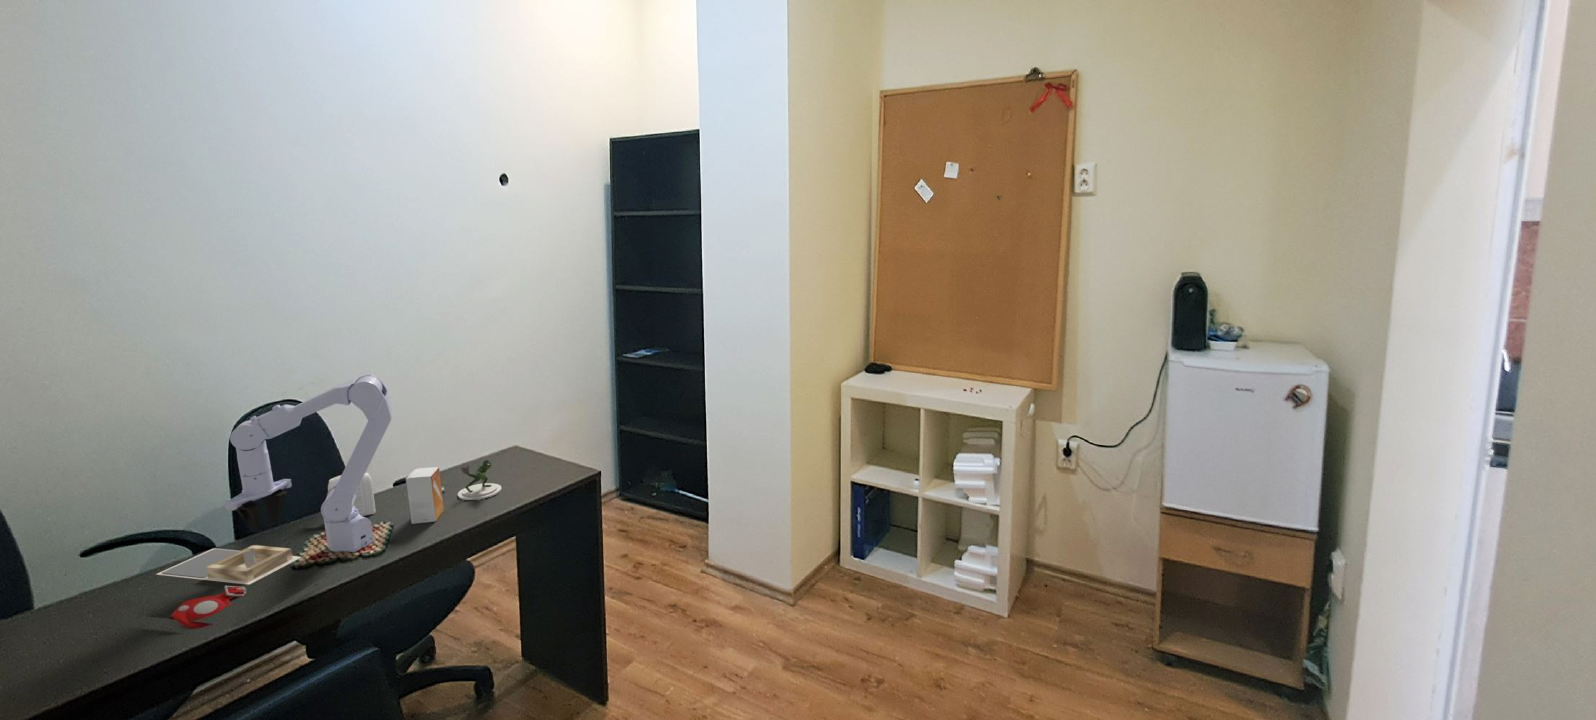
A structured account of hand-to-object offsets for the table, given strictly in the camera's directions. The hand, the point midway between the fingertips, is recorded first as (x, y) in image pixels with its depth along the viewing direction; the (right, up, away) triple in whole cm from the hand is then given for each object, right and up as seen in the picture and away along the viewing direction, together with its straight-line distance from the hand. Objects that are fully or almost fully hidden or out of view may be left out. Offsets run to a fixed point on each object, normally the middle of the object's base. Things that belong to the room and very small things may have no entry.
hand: (265, 526), depth 162 cm
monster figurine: (+30, -1, +44) cm, 53 cm away
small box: (+24, -4, +27) cm, 36 cm away
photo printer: (+3, -4, +29) cm, 29 cm away
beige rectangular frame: (-1, -9, -3) cm, 9 cm away
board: (-7, -10, -2) cm, 12 cm away
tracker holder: (+4, -14, -19) cm, 24 cm away
